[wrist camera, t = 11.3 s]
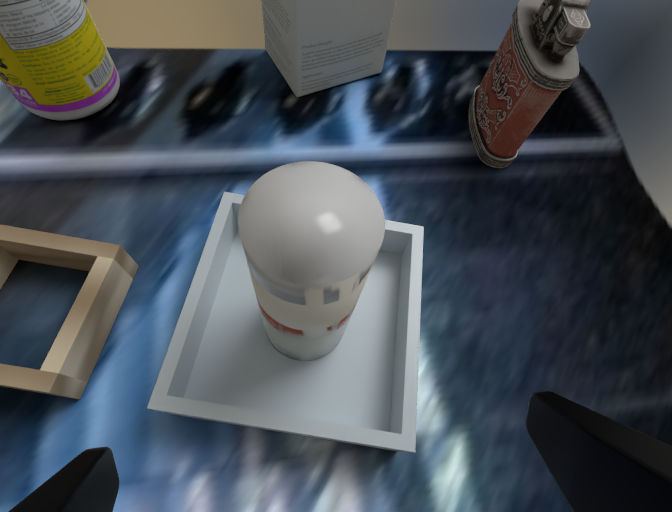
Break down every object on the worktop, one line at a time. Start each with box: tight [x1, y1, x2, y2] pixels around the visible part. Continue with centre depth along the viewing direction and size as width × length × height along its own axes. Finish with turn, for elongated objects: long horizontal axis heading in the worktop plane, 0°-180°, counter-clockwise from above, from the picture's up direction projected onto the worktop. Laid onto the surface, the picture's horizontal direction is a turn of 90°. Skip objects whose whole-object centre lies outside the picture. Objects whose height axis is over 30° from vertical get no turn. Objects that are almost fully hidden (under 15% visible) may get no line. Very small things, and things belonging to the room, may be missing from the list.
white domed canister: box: [238, 161, 385, 361], centre depth 15 cm, size 4×4×10 cm
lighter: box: [469, 0, 590, 168], centre depth 25 cm, size 8×3×10 cm, turn 176°
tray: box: [147, 192, 424, 452], centre depth 19 cm, size 11×11×3 cm
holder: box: [0, 225, 139, 399], centre depth 18 cm, size 7×7×2 cm
